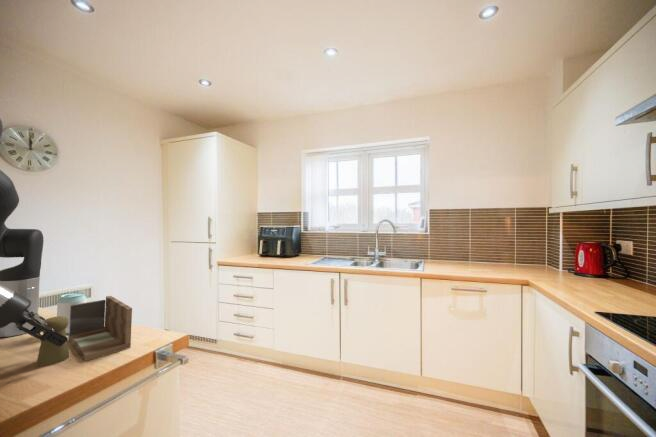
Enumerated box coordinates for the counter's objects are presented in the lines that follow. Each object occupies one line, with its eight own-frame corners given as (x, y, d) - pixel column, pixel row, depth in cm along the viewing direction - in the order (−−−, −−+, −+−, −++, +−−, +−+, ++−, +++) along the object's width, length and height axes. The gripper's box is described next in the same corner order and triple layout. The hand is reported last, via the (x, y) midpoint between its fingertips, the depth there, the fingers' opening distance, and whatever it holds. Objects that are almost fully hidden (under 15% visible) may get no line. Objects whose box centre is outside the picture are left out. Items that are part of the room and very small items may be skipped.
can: (59, 337, 84) (61, 298, 84) (53, 332, 88) (54, 295, 88) (88, 330, 90) (90, 294, 90) (81, 325, 94) (82, 290, 94)
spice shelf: (68, 339, 83) (69, 302, 83) (109, 330, 91) (110, 295, 91) (85, 361, 71) (87, 316, 71) (130, 347, 79) (132, 308, 79)
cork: (36, 368, 67) (38, 323, 67) (36, 359, 71) (38, 317, 71) (70, 360, 71) (71, 318, 71) (68, 352, 75) (69, 312, 75)
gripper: (16, 296, 61) (81, 331, 70) (10, 286, 70) (69, 319, 78) (-24, 326, 57) (51, 360, 66) (-25, 311, 65) (41, 343, 74)
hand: (60, 337), depth 72 cm, fingers open, 8 cm apart
